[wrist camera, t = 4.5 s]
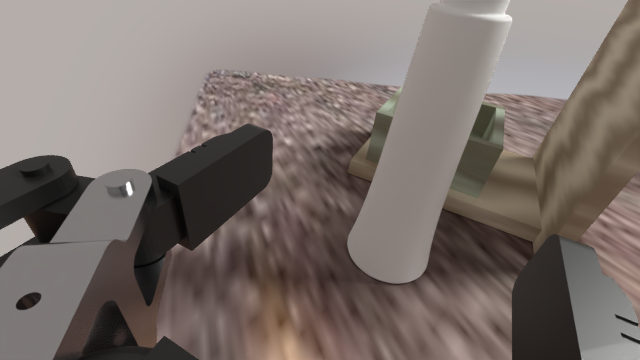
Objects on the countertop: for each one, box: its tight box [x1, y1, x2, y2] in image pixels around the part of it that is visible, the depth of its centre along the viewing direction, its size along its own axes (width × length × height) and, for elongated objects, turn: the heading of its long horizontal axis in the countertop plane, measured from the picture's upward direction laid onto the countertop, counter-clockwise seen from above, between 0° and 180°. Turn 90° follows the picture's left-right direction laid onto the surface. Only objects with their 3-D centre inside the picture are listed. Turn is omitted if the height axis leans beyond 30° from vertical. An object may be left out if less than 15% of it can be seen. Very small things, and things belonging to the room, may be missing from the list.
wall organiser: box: [348, 0, 640, 254], centre depth 26 cm, size 16×18×22 cm
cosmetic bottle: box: [347, 0, 512, 284], centre depth 17 cm, size 6×6×22 cm
